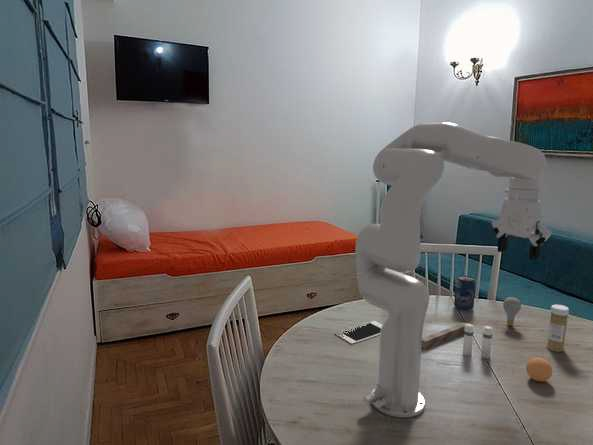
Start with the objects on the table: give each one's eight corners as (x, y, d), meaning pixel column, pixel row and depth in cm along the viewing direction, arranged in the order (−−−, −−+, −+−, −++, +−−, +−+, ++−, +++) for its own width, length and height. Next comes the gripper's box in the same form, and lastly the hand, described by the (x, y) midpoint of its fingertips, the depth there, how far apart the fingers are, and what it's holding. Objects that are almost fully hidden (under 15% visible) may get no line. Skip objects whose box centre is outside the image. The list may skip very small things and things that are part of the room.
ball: (543, 388, 110) (546, 367, 109) (520, 378, 115) (522, 357, 114) (555, 381, 114) (558, 360, 112) (532, 371, 118) (534, 351, 117)
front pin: (486, 359, 125) (489, 330, 123) (479, 356, 127) (481, 327, 125) (491, 357, 126) (494, 328, 124) (484, 353, 128) (486, 325, 126)
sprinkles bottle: (566, 349, 131) (572, 307, 128) (559, 353, 128) (564, 310, 126) (551, 344, 135) (556, 302, 132) (543, 347, 132) (548, 305, 130)
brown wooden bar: (424, 349, 131) (425, 341, 130) (419, 346, 132) (419, 339, 132) (468, 331, 143) (469, 324, 143) (463, 329, 145) (463, 322, 144)
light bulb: (519, 324, 149) (522, 296, 147) (517, 330, 144) (520, 301, 142) (502, 320, 152) (505, 293, 150) (500, 326, 147) (502, 298, 145)
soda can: (455, 311, 160) (457, 280, 157) (452, 304, 166) (454, 274, 164) (475, 312, 159) (478, 281, 156) (471, 305, 165) (473, 275, 163)
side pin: (468, 357, 126) (470, 328, 125) (460, 353, 128) (463, 324, 127) (473, 354, 128) (475, 325, 126) (465, 351, 130) (468, 322, 128)
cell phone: (393, 332, 144) (393, 329, 144) (351, 346, 134) (352, 343, 134) (374, 322, 151) (374, 320, 151) (333, 335, 141) (333, 332, 141)
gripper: (486, 192, 125) (482, 250, 128) (545, 199, 110) (538, 264, 113) (503, 190, 128) (498, 247, 131) (562, 197, 113) (555, 260, 117)
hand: (517, 255), depth 122 cm, fingers open, 9 cm apart
